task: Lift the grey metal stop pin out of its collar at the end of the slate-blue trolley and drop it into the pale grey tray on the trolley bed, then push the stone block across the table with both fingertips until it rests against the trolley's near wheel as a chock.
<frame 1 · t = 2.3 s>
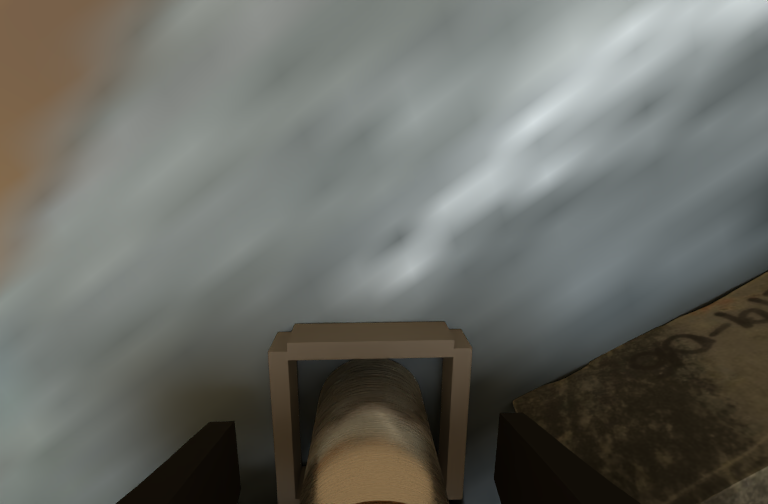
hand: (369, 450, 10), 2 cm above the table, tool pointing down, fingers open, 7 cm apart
stop pin: (370, 403, 12), resting in trolley
stone block: (740, 392, 13), on the table, touching gripper
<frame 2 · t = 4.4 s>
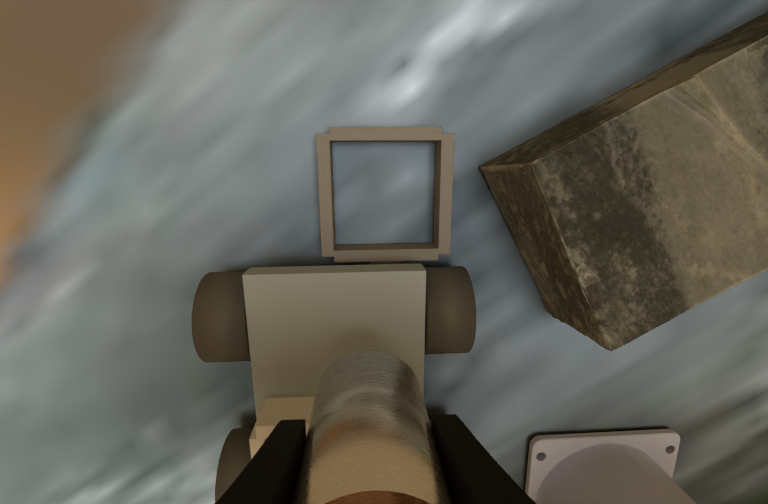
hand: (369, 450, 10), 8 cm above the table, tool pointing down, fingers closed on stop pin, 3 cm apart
stop pin: (368, 398, 11), point 6 cm above the table, touching gripper
stone block: (650, 177, 18), on the table
trolley: (344, 371, 18), on the table
when the fingers open (6 cm above the table, at t = 5.5 s): stop pin stays where it is, resting on trolley.
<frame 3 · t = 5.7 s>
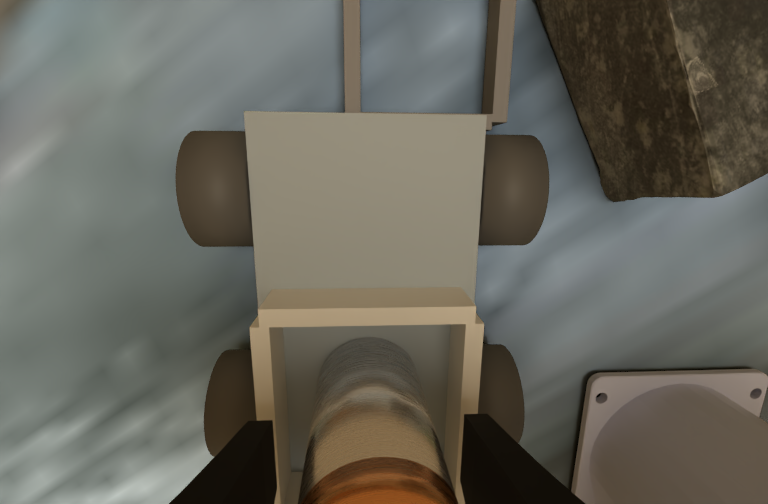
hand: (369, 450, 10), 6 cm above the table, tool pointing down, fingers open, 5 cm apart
stop pin: (368, 383, 12), point 3 cm above the table, touching trolley
stone block: (741, 27, 14), on the table
trolley: (366, 284, 15), on the table
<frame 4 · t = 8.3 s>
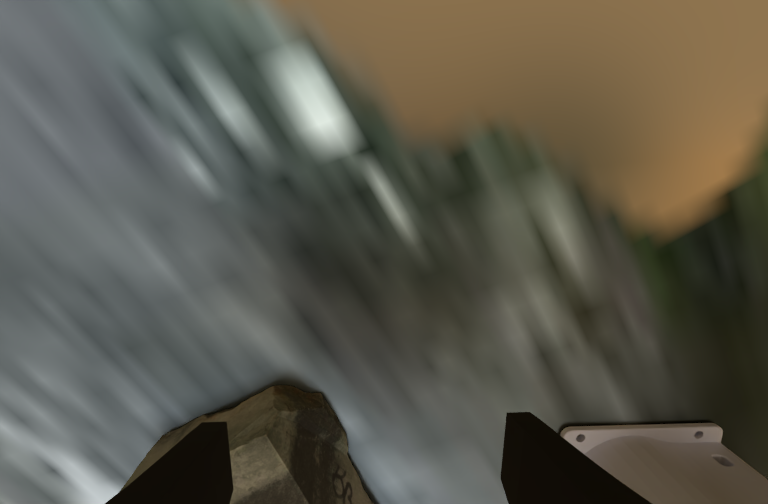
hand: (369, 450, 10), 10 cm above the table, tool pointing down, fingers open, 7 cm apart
stone block: (299, 489, 22), on the table
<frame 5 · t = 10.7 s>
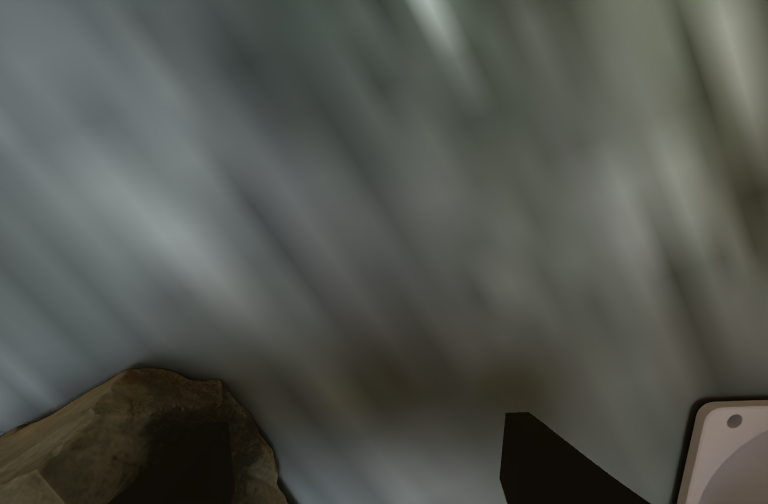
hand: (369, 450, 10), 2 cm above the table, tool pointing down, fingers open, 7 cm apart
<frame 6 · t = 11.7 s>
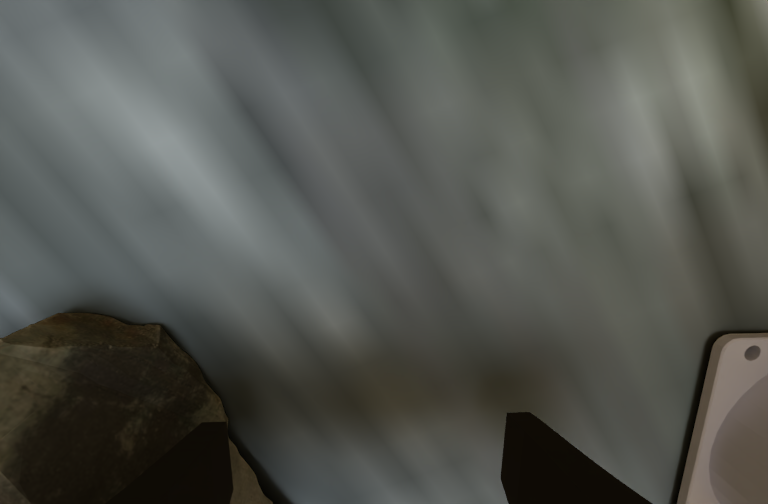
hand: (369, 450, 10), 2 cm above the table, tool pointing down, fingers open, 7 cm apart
stone block: (166, 501, 13), on the table
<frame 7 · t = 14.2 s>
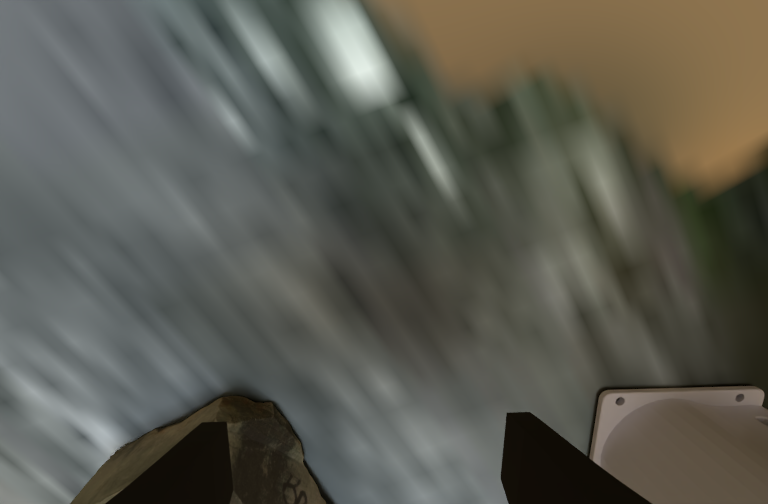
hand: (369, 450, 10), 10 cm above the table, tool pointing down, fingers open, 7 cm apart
stone block: (259, 498, 22), on the table
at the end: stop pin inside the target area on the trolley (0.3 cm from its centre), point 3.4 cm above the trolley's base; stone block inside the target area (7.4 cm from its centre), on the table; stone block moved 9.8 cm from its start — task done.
